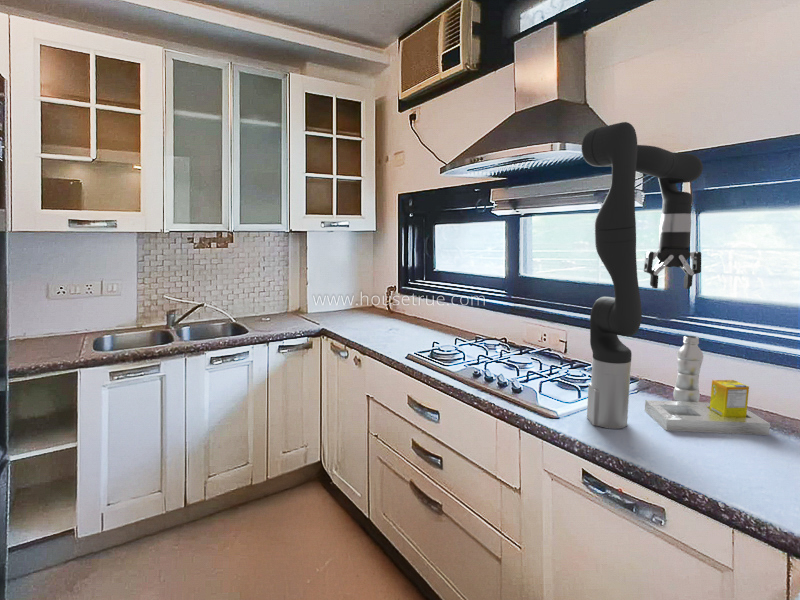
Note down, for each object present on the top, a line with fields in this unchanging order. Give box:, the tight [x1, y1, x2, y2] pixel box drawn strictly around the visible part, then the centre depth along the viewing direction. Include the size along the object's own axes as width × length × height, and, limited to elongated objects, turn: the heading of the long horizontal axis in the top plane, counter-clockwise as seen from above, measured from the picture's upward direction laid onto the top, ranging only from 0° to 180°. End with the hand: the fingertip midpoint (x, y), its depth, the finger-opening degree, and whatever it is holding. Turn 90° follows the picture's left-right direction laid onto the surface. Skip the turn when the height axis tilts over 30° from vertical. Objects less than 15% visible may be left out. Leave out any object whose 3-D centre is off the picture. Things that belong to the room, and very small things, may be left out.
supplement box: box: [709, 379, 750, 418], centre depth 124 cm, size 6×6×11 cm
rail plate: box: [644, 399, 771, 436], centre depth 125 cm, size 24×14×3 cm, turn 83°
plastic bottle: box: [672, 335, 704, 402], centre depth 138 cm, size 6×7×20 cm
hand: (670, 288), depth 134 cm, fingers open, 8 cm apart
